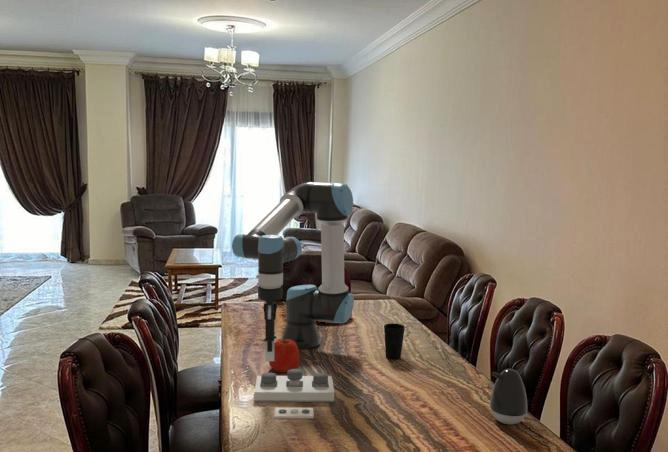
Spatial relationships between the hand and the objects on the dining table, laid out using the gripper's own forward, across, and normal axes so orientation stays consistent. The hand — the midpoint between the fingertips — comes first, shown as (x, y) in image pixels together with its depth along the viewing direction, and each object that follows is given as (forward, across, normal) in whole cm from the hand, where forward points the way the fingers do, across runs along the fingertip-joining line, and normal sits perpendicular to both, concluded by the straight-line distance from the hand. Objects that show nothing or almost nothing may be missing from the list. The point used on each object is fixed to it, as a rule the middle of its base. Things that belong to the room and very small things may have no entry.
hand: (269, 360), depth 185 cm
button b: (+8, +1, +8) cm, 11 cm away
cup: (+12, -35, +44) cm, 58 cm away
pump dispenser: (+11, +20, +69) cm, 72 cm away
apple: (+11, -21, +4) cm, 24 cm away
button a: (+10, +1, +16) cm, 18 cm away
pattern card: (+10, +16, +8) cm, 21 cm away
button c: (+9, +1, 0) cm, 9 cm away
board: (+10, +1, +8) cm, 13 cm away
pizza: (+13, -90, +23) cm, 94 cm away
